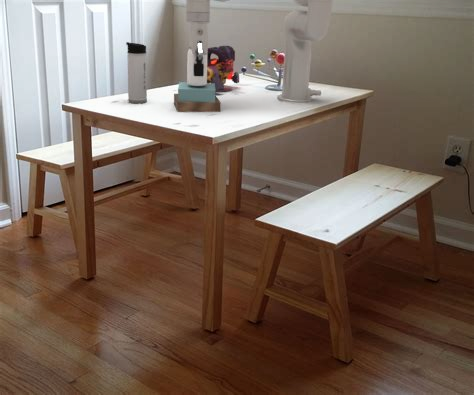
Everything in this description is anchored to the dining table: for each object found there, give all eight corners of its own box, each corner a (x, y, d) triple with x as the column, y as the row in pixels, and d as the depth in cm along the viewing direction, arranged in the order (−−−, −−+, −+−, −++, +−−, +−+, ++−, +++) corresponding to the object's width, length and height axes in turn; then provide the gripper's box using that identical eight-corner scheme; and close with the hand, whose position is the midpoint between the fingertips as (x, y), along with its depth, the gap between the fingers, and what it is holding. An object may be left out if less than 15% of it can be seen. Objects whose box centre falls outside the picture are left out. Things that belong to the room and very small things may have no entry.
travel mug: (125, 100, 218) (124, 41, 211) (144, 99, 220) (143, 41, 213) (129, 104, 213) (128, 43, 206) (148, 103, 215) (148, 43, 208)
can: (204, 87, 205) (204, 49, 200) (184, 85, 206) (185, 48, 201) (208, 83, 211) (209, 47, 206) (190, 82, 212) (190, 45, 207)
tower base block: (214, 105, 219) (214, 93, 218) (220, 114, 206) (220, 102, 205) (173, 105, 217) (174, 93, 215) (177, 114, 204) (177, 102, 202)
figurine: (218, 97, 230) (220, 50, 224) (188, 91, 237) (188, 46, 231) (246, 89, 246) (248, 46, 240) (217, 84, 253) (218, 42, 247)
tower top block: (214, 95, 216) (214, 83, 214) (215, 102, 205) (215, 90, 203) (179, 94, 215) (179, 82, 214) (178, 101, 204) (178, 89, 202)
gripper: (213, 20, 193) (212, 79, 200) (205, 15, 209) (204, 69, 216) (189, 19, 192) (188, 78, 198) (183, 15, 208) (183, 69, 214)
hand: (197, 73), depth 207 cm, fingers closed on can, 6 cm apart
